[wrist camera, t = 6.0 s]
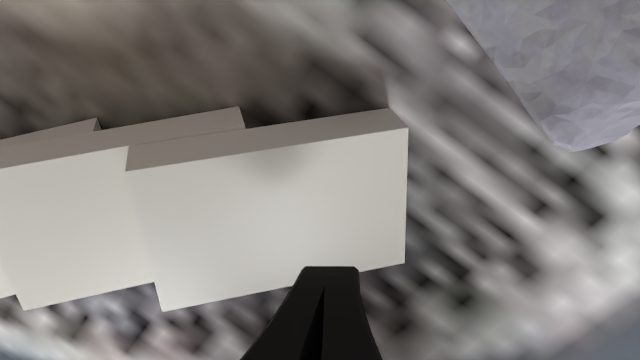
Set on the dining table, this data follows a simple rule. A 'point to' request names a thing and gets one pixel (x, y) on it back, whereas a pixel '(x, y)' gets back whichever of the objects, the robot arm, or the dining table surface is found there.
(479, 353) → the dining table surface
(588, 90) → the stone block
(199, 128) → the domino
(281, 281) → the domino
